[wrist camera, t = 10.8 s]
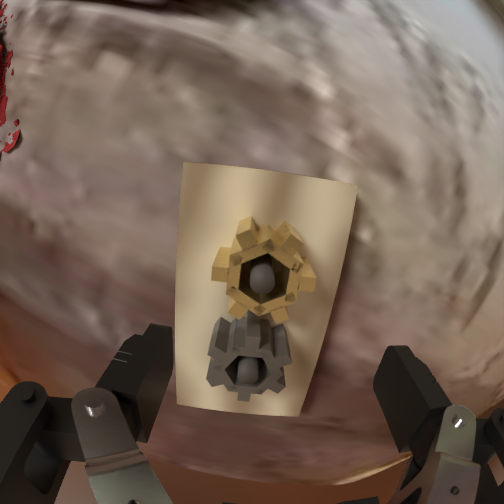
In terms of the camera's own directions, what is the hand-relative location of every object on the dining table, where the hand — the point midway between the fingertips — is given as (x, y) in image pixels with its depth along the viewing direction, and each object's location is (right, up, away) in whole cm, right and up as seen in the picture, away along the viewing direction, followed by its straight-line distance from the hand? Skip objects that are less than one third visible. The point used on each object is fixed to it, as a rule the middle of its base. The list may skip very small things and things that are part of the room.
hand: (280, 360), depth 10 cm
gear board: (-1, -1, +14) cm, 14 cm away
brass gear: (0, +3, +11) cm, 11 cm away
